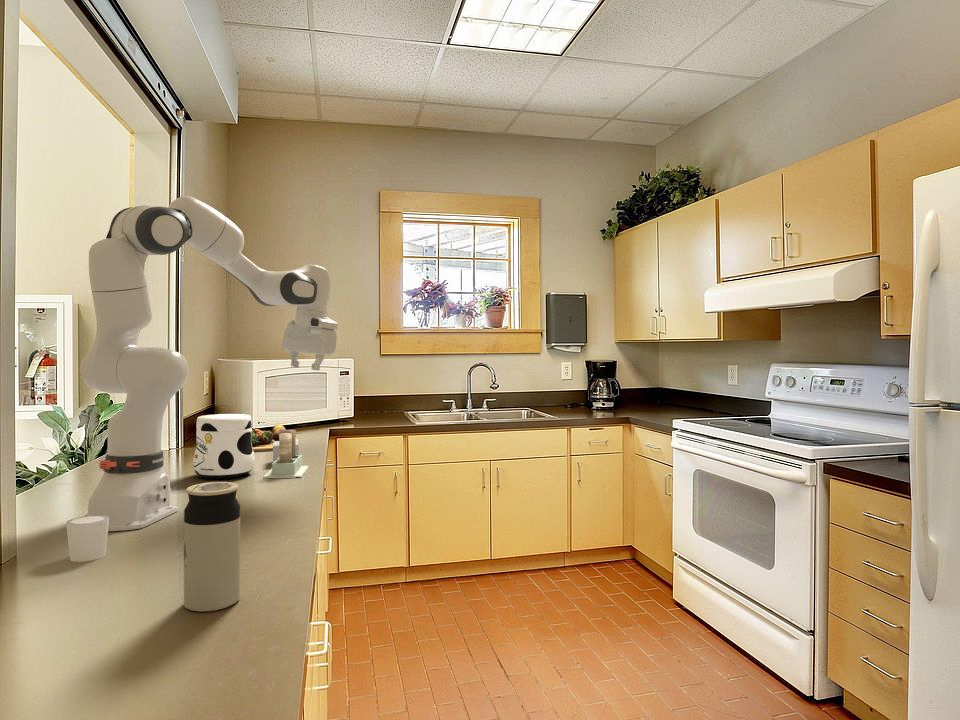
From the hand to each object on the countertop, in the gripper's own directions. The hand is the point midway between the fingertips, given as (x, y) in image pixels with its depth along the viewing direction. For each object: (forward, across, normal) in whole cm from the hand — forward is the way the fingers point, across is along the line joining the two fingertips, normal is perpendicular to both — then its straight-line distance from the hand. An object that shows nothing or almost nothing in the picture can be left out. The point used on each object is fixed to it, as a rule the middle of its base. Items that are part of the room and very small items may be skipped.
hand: (304, 368), depth 181 cm
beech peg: (+33, -11, +6) cm, 35 cm away
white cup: (+38, +23, -62) cm, 76 cm away
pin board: (+33, -13, +9) cm, 37 cm away
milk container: (+36, -24, -6) cm, 43 cm away
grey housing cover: (+33, -26, +18) cm, 46 cm away
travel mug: (+36, +60, -59) cm, 92 cm away
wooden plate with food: (+34, -66, +34) cm, 82 cm away
